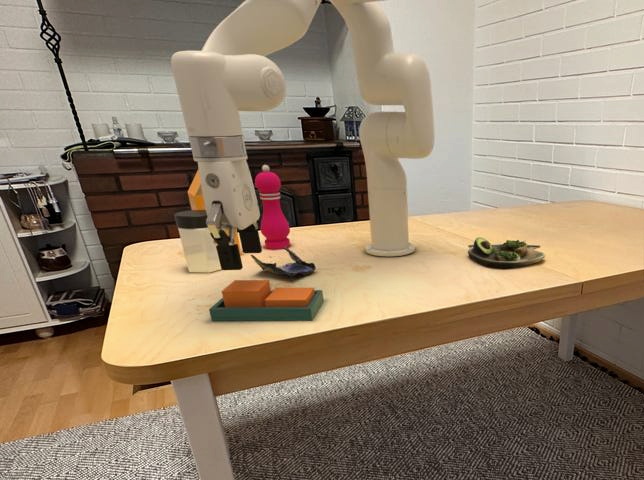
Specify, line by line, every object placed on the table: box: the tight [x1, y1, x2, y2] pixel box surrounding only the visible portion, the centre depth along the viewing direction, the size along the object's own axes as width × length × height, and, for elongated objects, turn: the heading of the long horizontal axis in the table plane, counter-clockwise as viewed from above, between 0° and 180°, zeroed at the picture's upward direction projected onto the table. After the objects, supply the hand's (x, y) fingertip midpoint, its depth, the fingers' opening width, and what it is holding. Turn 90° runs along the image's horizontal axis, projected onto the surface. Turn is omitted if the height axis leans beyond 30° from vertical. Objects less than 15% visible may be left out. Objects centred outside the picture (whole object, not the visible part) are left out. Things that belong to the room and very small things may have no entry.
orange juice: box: [187, 168, 242, 256], centre depth 112 cm, size 8×9×20 cm
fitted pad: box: [265, 286, 316, 307], centre depth 81 cm, size 7×7×2 cm
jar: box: [173, 209, 222, 274], centre depth 103 cm, size 9×8×12 cm
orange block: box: [221, 279, 271, 308], centre depth 81 cm, size 6×6×4 cm
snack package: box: [250, 246, 317, 282], centre depth 100 cm, size 12×6×12 cm
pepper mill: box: [254, 164, 291, 250], centre depth 119 cm, size 7×7×20 cm
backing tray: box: [208, 289, 325, 322], centre depth 82 cm, size 10×17×2 cm, turn 92°
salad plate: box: [467, 236, 546, 269], centre depth 114 cm, size 19×18×5 cm
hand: (243, 260), depth 78 cm, fingers open, 9 cm apart
